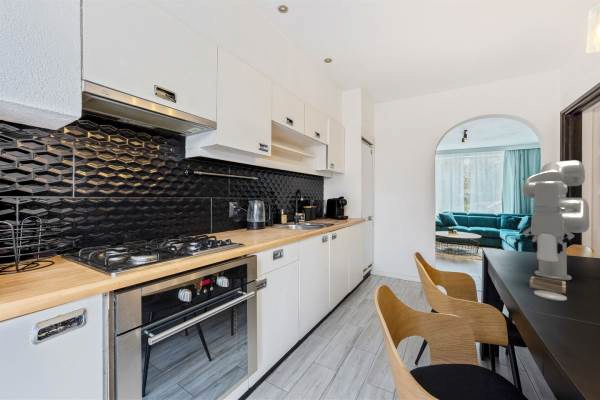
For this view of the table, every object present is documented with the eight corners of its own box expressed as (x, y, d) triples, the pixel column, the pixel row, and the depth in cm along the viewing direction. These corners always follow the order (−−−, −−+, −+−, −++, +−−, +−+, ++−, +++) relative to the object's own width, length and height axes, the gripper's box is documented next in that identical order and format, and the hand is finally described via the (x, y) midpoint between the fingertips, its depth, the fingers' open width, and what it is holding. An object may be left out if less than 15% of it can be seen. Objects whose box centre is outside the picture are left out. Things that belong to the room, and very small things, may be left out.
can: (562, 262, 103) (562, 233, 103) (544, 261, 104) (543, 233, 104) (550, 258, 109) (550, 231, 109) (533, 258, 110) (532, 231, 110)
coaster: (534, 290, 103) (534, 288, 103) (566, 296, 96) (566, 294, 96) (533, 296, 96) (533, 294, 96) (567, 302, 90) (567, 301, 90)
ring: (531, 281, 113) (531, 276, 113) (565, 287, 106) (565, 281, 106) (529, 287, 106) (529, 281, 106) (565, 293, 98) (565, 287, 98)
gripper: (576, 210, 103) (577, 253, 103) (520, 209, 115) (521, 247, 115) (577, 211, 97) (578, 256, 98) (519, 210, 110) (519, 250, 110)
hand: (547, 251), depth 107 cm, fingers closed on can, 6 cm apart
